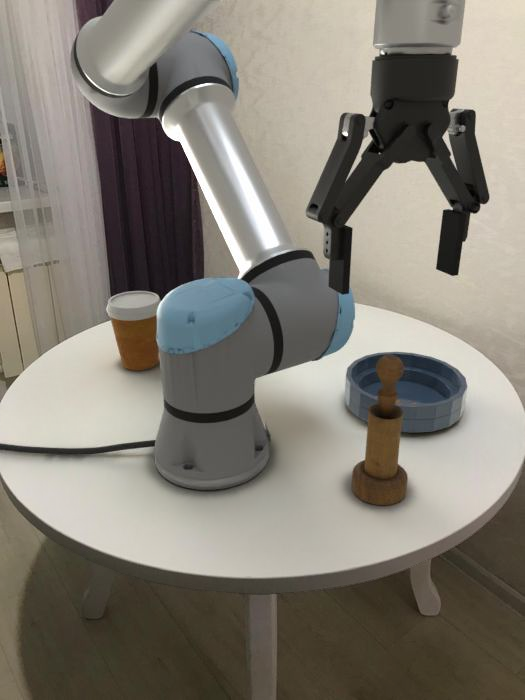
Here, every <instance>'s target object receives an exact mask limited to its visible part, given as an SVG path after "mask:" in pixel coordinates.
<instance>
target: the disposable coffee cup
mask: <svg viewBox="0 0 525 700" xmlns="http://www.w3.org/2000/svg"><path fill="white" fill-rule="evenodd" d="M161 301H162V300H161V298H160V296H159V294H157V293H155V292H152V291H147V290H132V291H130V290H129V291H124V292H121V293H117V294H115V295H113V296H110V297H109V298H108V300H107V305H106V307H105V311H106V313H107V314H108V316H109V318H110V322H111V326H112V330H113V335H114V337H115V341H116V345H117V348H118V352H119V353H118V354H119V356H120V360H121V364H122V367H123V368H125V369H127V370H130V371H144V370H149V369H151V368H154V367H156V366H157V365H158V363H159V362H160V359H159V349H158V344H157V341H156V332H157V309H158V306H159V304H160V302H161Z"/></svg>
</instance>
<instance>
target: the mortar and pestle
mask: <svg viewBox="0 0 525 700" xmlns="http://www.w3.org/2000/svg"><path fill="white" fill-rule="evenodd" d="M376 372H377V375H378V377H379V379H380V381H381V383H382V388H381V389H379V390H378V392H377V395H378V401H379V403H376V404H374V405H372V406H370V408H369V415H368V422H367V431H366V444H365V454H364V460H361V461H359V462H357V463H356V465H354V467H353V469H352V472H351V474H352V475H351V490H352V492H353V494H354V495H355V496H356V497H357V498H359V499H360V500H361V501H364V502H366V503H368V504H372V505H377V506H384V505H385V506H389V505H395V504H397V503H399V502H401V501H402V500H404V498H405V496H406V494H407V491H408V479H409V478H408V473H407V471H406V470H405V469H404V468H403V467H402V466H401V465H400V464H399V456H400V455H399V454H400V453H399V452H400V445H401V435H402V434H401V433H402V432H401V426H402V418H403V411H402V409H401V408H400V407H398V406H397V405H395V403H396V400H397V397H398V392H397V391H396V390H395V384H396V383H397V381H398V380H399V379H400V378H401V376H402V374H403V372H404V366H403V363H402V361H401V359H400V358H398V357H397V356H395V355H385V356H383V357H381V358H380V359H379V360H378V362H377V365H376Z"/></svg>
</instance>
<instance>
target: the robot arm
mask: <svg viewBox="0 0 525 700" xmlns="http://www.w3.org/2000/svg"><path fill="white" fill-rule="evenodd" d="M223 1H224V0H113V1H112V2H111V3H110V5H109V6H108V7H107V9H106V11H105V12H104V13H103V15H100V16H96V17H93V18H92V19H89V20H88V21H86V23H85V24H84V25H83V26H82V27H81V29H80V30H79V32H78V33H77V35H76V36H75V38H74V40H73V42H72V46H71V50H70V54H69V55H70V59H69V60H70V71H71V74H72V77H73V80H74V82H75V84H76V86H77V88H78V89H79V91H80V92H81V94H82V95H83V96H84V97H85V98H86V99H87V100H88V102H89V103H91V104H92V105H93V106H95V108H97V109H98V110H100V111H102V112H103V113H106V114H109V115H111V116H114V117H118V118H123V119H151V118H152V119H155V118H156V119H158V120H159V122H160V125H161V127H162V129H163V131H164V134H166V136H167V137H168V138H170V139H171V140H173V141H176V142H180V144H181V146H182V148H183V151H184V153H185V155H186V157H187V159H188V162H189V164H190V166H191V169H192V170H193V172H194V175H195V177H196V179H197V182H198V183H199V185H200V187H201V190H202V192H203V194H204V197H205V199H206V201H207V203H208V206H209V208H210V209H211V212H212V214H213V216H214V219H215V221H216V223H217V225H218V227H219V230H220V232H221V233H222V236H223V238H224V240H225V243H226V245H227V247H228V249H229V251H230V253H231V256H232V257H233V260H234V262H235V264H236V267H237V269H238V270H239V271H238V272H239V274H238V277H233V276H219V277H217V278H213V277H205V278H200V279H196V280H192V281H189V282H187V283H184V284H181V285H179V286H177V287H175V288H174V289H171V290H170V291H169V292H168V293H167V294H165V296H164V297H163V298H162V300H160V301H161V302H160V304H159V306H158V309H157V332H156V341H157V344H158V349H159V367H160V378H161V388H162V396H163V411H162V415H161V419H160V423H159V426H158V430H157V433H156V437H155V439H151V440H142V441H132V442H124V443H117V444H111V445H103V446H96V447H76V448H75V447H47V446H30V445H29V446H28V445H16V444H9V443H1V442H0V451H6V452H13V453H14V452H16V453H26V454H43V455H60V456H61V455H62V456H63V455H64V456H65V455H66V456H67V455H68V456H69V455H70V456H73V455H74V456H77V455H79V456H80V455H81V456H83V455H98V454H107V453H112V452H119V451H126V450H134V449H144V448H153V454H154V464H155V467H156V469H157V471H158V473H159V474H160V475H161V476H162V477H163V478H165V479H166V480H167V481H169V482H170V483H173V484H174V485H176V486H180V487H182V488H186V489H190V490H199V491H215V490H223V489H229V488H232V487H236V486H239V485H241V484H244V483H247V482H249V481H250V480H252V479H253V478H255V477H256V476H258V475H259V474H260V473H261V472H262V471H263V470H264V469H265V468H266V466H267V463H268V462H269V458H270V444H272V443H271V440H272V439H271V437H272V436H271V435H272V434H271V433H270V431H269V428H268V426H267V423H266V422H265V423H263V422H264V421H263V420H262V417H261V414H260V413H259V410H258V407H257V404H256V396H255V395H256V394H255V392H256V391H255V386H256V385H255V384H256V383H255V380H256V379H258V378H261V377H264V376H267V375H270V374H274V373H278V372H280V371H284V370H287V369H291V368H294V367H297V366H299V365H304V364H306V363H310V362H318V361H320V360H322V359H323V358H324V357H326V356H329V355H332V354H334V353H337V352H338V351H340V350H341V349H343V348H344V347H345V346H346V344H347V343H348V341H349V340H350V338H351V336H352V333H353V331H354V330H353V329H354V322H355V319H356V305H355V299H354V295H353V291H352V289H351V286H350V282H351V264H352V247H353V246H352V245H353V229H354V228H353V227H351V226H349V225H347V222H348V221H349V220H350V219H351V217H352V216H353V214H354V213H355V212H356V210H357V208H358V207H359V206H360V205H361V203H362V201H363V200H364V199H365V197H366V195H367V194H368V193H369V192H370V190H371V189H372V188H373V186H374V185H375V183H376V182H377V181H378V179H379V178H380V177H381V176H382V174H383V172H384V171H386V170H388V169H389V168H391V167H392V165H393V164H394V163H395V164H398V165H399V164H407V163H409V162H417V163H424V164H425V165H426V167H427V169H428V170H429V172H430V174H431V175H432V177H433V180H434V181H435V182H436V184H437V185H438V188H439V189H440V191H441V192H442V194H443V196H444V197H445V200H446V201H447V203H448V204H449V206H450V207H451V208H452V209H450V208H447V209H446V208H445V209H442V216H441V224H440V233H439V241H438V249H437V257H436V266H435V270H437V271H439V272H442V273H444V274H445V275H446V274H447V275H449V276H452V277H455V276H459V271H460V265H461V257H462V250H463V243H464V242H466V240H467V238H468V234H469V227H470V221H471V214H474V215H475V214H478V213H479V212H480V210H481V206H482V205H486V204H487V203H488V202H489V200H490V197H491V196H490V192H489V188H488V184H487V183H488V182H487V179H486V175H485V171H484V166H483V162H482V158H481V154H480V149H479V145H478V141H477V137H476V136H477V135H476V123H477V121H476V119H477V115H476V114H477V112H476V110H474V109H471V108H470V109H468V108H454V107H453V108H452V109H451V110H450V109H449V104H450V103H449V102H450V100H452V99H454V96H455V93H456V88H457V87H456V86H457V79H458V71H459V70H458V69H459V62H460V59H459V58H458V55H456V54H453V49H454V48H455V49H456V48H457V47H458V46H460V45H461V42H462V34H463V24H464V16H465V9H466V1H467V0H375V11H374V12H375V13H374V26H373V37H372V46H373V47H374V48H375V50H379V52H378V56H377V55H376V56H374V60H373V59H372V61H371V74H370V75H371V76H370V91H369V92H370V93H369V95H370V98H371V102H372V107H371V111H370V113H369V115H368V116H366V115H364V114H363V113H357V112H343V113H342V114H341V115H340V117H339V122H338V128H337V136H336V140H335V142H334V145H333V147H332V149H331V152H330V154H329V156H328V158H327V160H326V162H325V165H324V167H323V170H322V172H321V174H320V176H319V178H318V181H317V183H316V185H315V187H314V190H313V192H312V195H311V197H310V200H309V202H308V204H307V206H306V208H305V216H306V217H307V219H310V220H313V221H316V222H317V223H320V224H322V226H323V243H322V244H323V246H322V248H323V249H322V254H323V256H324V258H325V259H328V261H329V262H328V263H329V265H328V267H326V268H321V267H320V266H319V264H318V262H317V260H316V257H315V256H314V253H313V251H311V249H309V248H306V247H303V246H300V245H299V246H298V245H297V244H296V242H295V241H294V238H293V236H292V234H291V232H290V230H289V228H288V226H287V224H286V222H285V220H284V218H283V216H282V213H281V211H280V210H279V207H278V205H277V203H276V202H275V200H274V197H273V195H272V193H271V191H270V189H269V187H268V185H267V183H266V181H265V179H264V177H263V175H262V173H261V171H260V169H259V166H258V165H257V163H256V161H255V159H254V156H253V155H252V152H251V150H250V148H249V146H248V144H247V142H246V140H245V138H244V136H243V134H242V132H241V130H240V127H239V126H238V124H237V122H236V120H235V118H234V112H235V110H236V105H237V100H238V96H239V89H240V78H239V77H238V76H237V72H238V66H237V62H236V60H235V57H234V55H233V53H232V51H231V49H230V47H229V45H228V44H227V43H225V41H223V40H222V38H220V37H218V36H217V35H215V34H214V33H213V34H212V33H209V32H200V31H198V30H193V29H194V28H195V27H196V26H198V24H199V23H200V22H201V21H203V20H204V19H205V18H206V17H208V15H209V14H211V12H212V11H214V10H215V9H216V8H217V7H218V6H219V5H220V4H221V3H222V2H223ZM446 132H447V133H448V140H449V141H448V142H449V144H450V148H451V151H450V149H449V147H448V145H447V144H446V141H445V140H444V138H443V137H444V135H445V134H446ZM369 135H370V137H371V141H370V142H369V143H368V145H367V146H366V147H365V149H364V150H363V152H362V153H361V156H360V158H361V159H360V161H359V162H358V163H357V165H356V166H355V168H354V169H353V170H352V168H353V166H354V163H355V161H356V159H357V157H358V154H359V153H360V150H361V148H362V144H363V141H364V139H366V138H368V136H369ZM451 156H452V157H453V160H454V162H453V160H452V158H451ZM351 170H352V172H351ZM349 174H350V175H349ZM264 424H265V425H264Z"/></svg>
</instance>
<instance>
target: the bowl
mask: <svg viewBox="0 0 525 700" xmlns="http://www.w3.org/2000/svg"><path fill="white" fill-rule="evenodd" d="M385 355H395V356H397V357H398V358H400V359H401V361H402V363H403V366H404V372H403V374H402V376H401V378H400V379H399V380H398V381H397V383H396V384H395V390H396V391H397V392H398V397H397V400H400V401H402V402H403V403H397V402H396V403H395V405H397V406H398V407H400V408H401V409H402V411H403V418H402V426H401V433H412V434H415V433H430V432H435V431H439V430H443V429H446V428H449V427H451V426H453V425H454V424H456V423H458V422H459V420H460V419H461V417H462V415H463V413H464V410H465V405H466V397H467V393H468V383H467V378H466V376H465V375H464V374H463V373H462V372H461V371H460V370H459V369H458V368H457V367H455V366H453V365H451V364H450V363H448V362H446V361H444V360H441V359H439V358H436V357H434V356H428V355H424V354H419V353H415V352H408V351H407V352H406V351H405V352H404V351H385V352H384V351H383V352H376V353H371V354H366V355H364V356H362V357H359V358H358V359H356V360H354V361H353V362H351V364H350V365H349V366H347V367H346V373H345V385H344V386H345V387H344V402H345V404H346V406H347V408H348V410H349V411H350V412H351V413H352V414H353V415H355V416H356V417H357V418H358V419H360V420H362V421H364V422H366V423H368V415H369V408H370V406H372V405H374V404H376V403H379V401H378V397H376V396H378V395H377V392H378V390H379V389H381V388H382V383H381V381H380V379H379V377H378V375H377V372H376V365H377V362H378V360H379V359H380V358H381V357H383V356H385ZM411 403H418V404H411Z"/></svg>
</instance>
